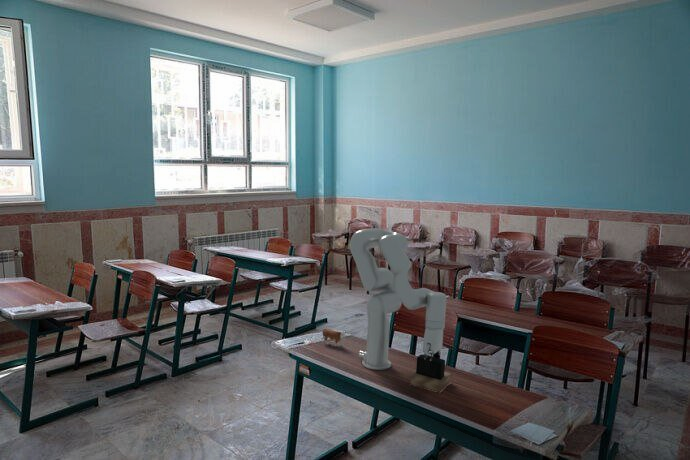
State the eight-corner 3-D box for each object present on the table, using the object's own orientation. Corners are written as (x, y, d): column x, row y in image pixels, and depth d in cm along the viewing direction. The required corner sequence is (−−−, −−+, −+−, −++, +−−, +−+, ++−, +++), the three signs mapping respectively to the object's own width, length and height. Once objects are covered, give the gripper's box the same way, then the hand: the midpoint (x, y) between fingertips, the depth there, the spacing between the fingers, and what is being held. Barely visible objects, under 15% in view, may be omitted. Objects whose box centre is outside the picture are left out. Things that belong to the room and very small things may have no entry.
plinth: (409, 385, 194) (410, 375, 194) (422, 374, 205) (423, 365, 204) (440, 393, 187) (440, 383, 187) (451, 382, 198) (452, 373, 198)
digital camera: (445, 375, 195) (446, 358, 194) (440, 380, 190) (441, 362, 189) (421, 369, 200) (422, 353, 199) (415, 373, 196) (417, 356, 195)
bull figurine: (343, 349, 231) (344, 332, 230) (320, 343, 238) (321, 327, 237) (348, 347, 234) (349, 330, 233) (325, 341, 241) (326, 324, 241)
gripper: (434, 317, 203) (431, 358, 205) (417, 326, 188) (414, 371, 190) (451, 320, 199) (448, 362, 201) (435, 330, 184) (432, 376, 186)
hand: (432, 366), depth 195 cm, fingers open, 7 cm apart
